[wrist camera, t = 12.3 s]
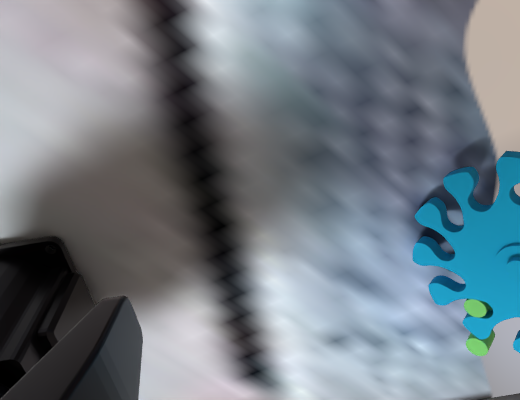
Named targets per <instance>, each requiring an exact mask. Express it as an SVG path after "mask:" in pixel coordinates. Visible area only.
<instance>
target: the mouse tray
mask: <svg viewBox="0 0 520 400" xmlns="http://www.w3.org/2000/svg"><path fill="white" fill-rule="evenodd" d="M483 400H520V393H519V394H514V395H508V396H501V397H495V398H489V399H483Z"/></svg>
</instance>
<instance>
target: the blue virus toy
mask: <svg viewBox="0 0 520 400" xmlns="http://www.w3.org/2000/svg"><path fill="white" fill-rule="evenodd" d="M496 171H497V174H498V176H499V182H500V187H499V193H498V196H497V198H496V200H495V202H494V203H493V204H491V205H482V204H480V203H478V202H477V201H476V200H475V199H474V196H473V192H474V189H475V187H476V185H477V184H478V181H479V174H478V172H477V170H476V169H475V168H474V167H464V168H460V169H457V170H454V171H452V172H450V173H449V174H448V175H446V176H445V177H444V180H443V183H444V186H445V188H446V190H447V191H448V192H449V193H451V194H452V195H453V196H454V198H455V199H456V200H457V202H458V203H459V205H460V207H461V210H462V213H463V219H464V225H462V226H458V225H455V224H453V223H451V222H450V221H449V219H448V216H447V209H446V206H445V204H444V202H443V201H442V200H440V199H439V198H437V197H433V198H431V199H430V200H429V201H427V202H426V203H425V204H424V205H423V206H422V207H421V208H420V209H419V210H418V212H417V213H416V215H415V218H416V220H417V221H418V222H419V223H420V224H421V225H423V226H426V227H429V228H431V229H433V230H435V231H437V232H438V233H440V234H441V235H442V236H443V237H444V238H445V239H446V240H447V241H448V242H449V243H450V245H451V246H452V247H453V249H454V251H455V254H449V253H446V252H445V251H443V250H442V248H441V247H440V246H439V244H438V243H437V242H436V241H435V240H434V239H432V238H430V237H427V236H422V237H421V238H420V239H419V241H418V242H417V243H416V244H415V246H414V249H413V261H414V262H415V263H417V264H419V265H422V266H428V265H433V266H439V267H443V268H446V269H448V270H450V271H452V272H454V273H455V274H457V275H459V276H460V277H462V278H463V279H464V281H465V283H466V284H460V283H457V282H455V281H454V280H452V279H450V278H448V277H446V276H436V277H435V278H434V279H433V280H432V281H431V283H430V284H429V291H430V294H431V296H432V298H433V300H434V302H435V303H436V304H438V305H447V304H449V303H450V302H452V301H455V300H458V299H467V300H466V301H465V303H464V308H465V310H466V312H467V315H466V317H465V318H464V320H463V324H464V326H465V327H466V328H467V329H468V330H469V331H470V332H471V334H470V336H469V338H468V339H467V341H466V346H467V348H468V350H469V351H470V352H471V353H473V354H475V355H478V356H484V355H486V354H487V352H488V350H489V348H490V346H491V344H492V342H493V340H494V337H495V333H494V331H493V327H494V326H495V325H496V324H498V323H499V322H501V321H503V320H506V319H510V318H514V317H520V197H519V196H518V195H517V194H516V193H515V191H514V185H516V184H518V183H520V152H514V151H506V152H505V153H504V154H503V155H502V156H501V157H500V158H499V160H498V161H497V164H496ZM513 347H514V350H516V351H518V352H519V353H520V330H519V331H518V333H517V336H516V338H515V341H514V343H513Z"/></svg>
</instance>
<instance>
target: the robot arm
mask: <svg viewBox="0 0 520 400" xmlns="http://www.w3.org/2000/svg"><path fill="white" fill-rule="evenodd" d="M48 245H51V246H54V247H55V248H56V249H51V248H50V247H49V246H48ZM142 344H143V337H142V330H141V327H140V325H139V322H138V320H137V317H136V314H135V312H134V309H133V307H132V304H131V302H130V300H129V299H128V298H127V297H126V296H118V297H111V298H106V299H103V300H101V301H100V302H99V303H98V304H97V305H96V306H95V305H94V303H93V301H92V298H91V296H90V294H89V292H88V289H87V287H86V285H85V283H84V280H83V278H82V276H81V275H80V274H79V273H78V272H77V271H76V269H75V267H74V265H73V263H72V260H71V258H70V256H69V254H68V251H67V249H66V247H65V245H64V243H63V241H62V240H61V239H59V238H57V237H44V238H38V239H32V240H26V241H20V242H13V243H7V244H1V245H0V400H138V396H139V383H140V370H141V357H142Z"/></svg>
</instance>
